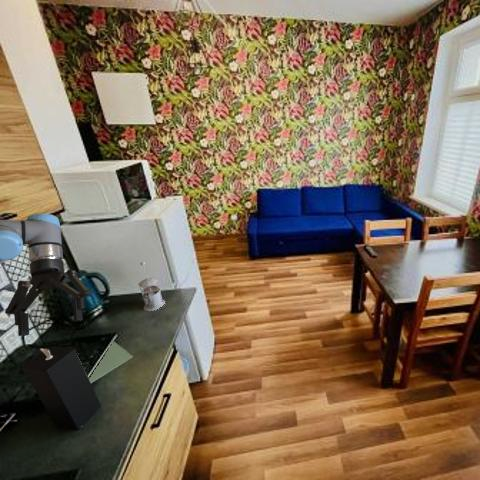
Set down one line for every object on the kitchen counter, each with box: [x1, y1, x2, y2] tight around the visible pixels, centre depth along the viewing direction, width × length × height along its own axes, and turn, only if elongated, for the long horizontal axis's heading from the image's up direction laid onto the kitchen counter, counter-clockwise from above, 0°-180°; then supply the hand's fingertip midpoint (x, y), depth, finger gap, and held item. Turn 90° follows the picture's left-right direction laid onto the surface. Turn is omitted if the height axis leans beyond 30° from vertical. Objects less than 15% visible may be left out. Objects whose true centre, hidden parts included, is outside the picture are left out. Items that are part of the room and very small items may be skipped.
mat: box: [89, 341, 134, 384], centre depth 103 cm, size 20×18×1 cm
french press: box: [138, 261, 166, 312], centre depth 132 cm, size 10×12×25 cm
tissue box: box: [21, 345, 102, 431], centre depth 78 cm, size 8×8×28 cm
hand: (51, 328), depth 80 cm, fingers open, 13 cm apart
